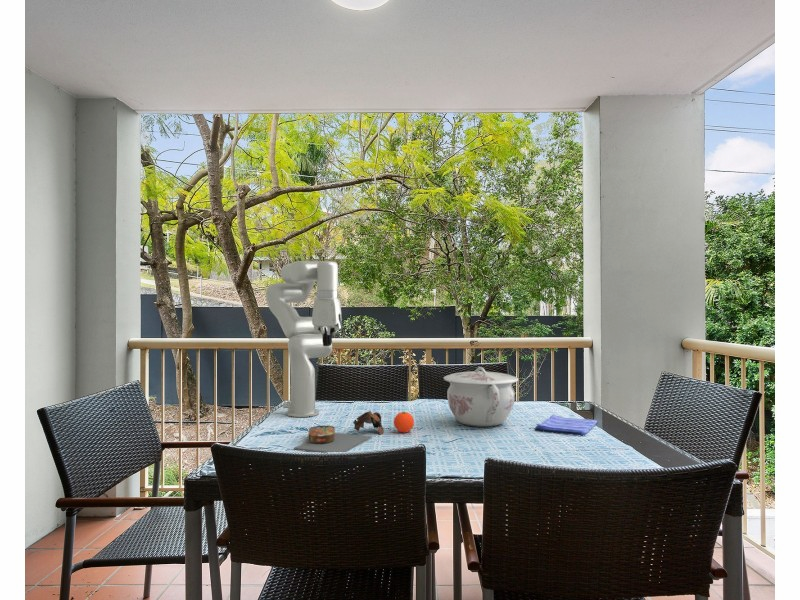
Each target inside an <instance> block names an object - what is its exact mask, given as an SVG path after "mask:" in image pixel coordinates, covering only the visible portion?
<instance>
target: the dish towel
mask: <svg viewBox="0 0 800 600" xmlns="http://www.w3.org/2000/svg"><path fill="white" fill-rule="evenodd" d="M597 423H598V420H597V419H586V418H584V419H583V418H573V417H565V416H560V415H556V414H552V415H550V417H548V418H547V419H545V420H544V421H542V422H541V423H537V424H536V427H535V428H534V431H537V432H543V431H544V432H543V433H552V432H553V433H554V434H560V433H563V434H562V435H568V434H573V435H572V436H577V435H582V436H581V437H584V436H585V435H587V434H588V433H589V432H590V431H591V430H592V429H593V428H594V427H595V426H596V425H597ZM583 435H584V436H583Z"/></svg>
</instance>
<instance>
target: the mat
mask: <svg viewBox="0 0 800 600" xmlns="http://www.w3.org/2000/svg"><path fill="white" fill-rule="evenodd" d="M372 438H373V436H370V435H362V434H351V433H342V432H335V433H334V441H332V442H330V443H311V442H309V440H308V441H306V442H304V443H302V444H300V445H297V446H295V447H293V450H294V451H303V450H305V452H312V453H320V452H345V453H347V452H348V451H350V450H352V449H354V448H356V447H357V446H359V445H361V444H363V443H365V442H368V441H369V440H371V439H372Z"/></svg>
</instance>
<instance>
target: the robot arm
mask: <svg viewBox="0 0 800 600" xmlns="http://www.w3.org/2000/svg"><path fill="white" fill-rule="evenodd" d="M338 265H339V264H338V262H337V261H333V260H331V261H330V260H329V261H328V260H321V261H316V260H298V261H293V262H290V263H286V264H284V265H283V267H282V268H281V269H280V272H279V274H280V275H279V276H280V278H281V280H282V281H283V282H275V283H272V284H270V285H269V286H268V287H267V288H266V292H265V298H266V304H267V306H268V309H269V310H270V312H271V313H272V314H273V315H274V317H276V319H277V321H278V323H279V325H280V327H281V329H282V332H283V333H284V335H285V337H286V338H287V339H288V342H287V349H288V354H289V355H288V356H289V362H290V363H289V364H290V366H289V367H290V402H284V403H283V405H282V407H283V409H288V410H287V411H286V415H287V416H288V417H291V416H292V418H309V416H310V417H315V416H317V415H319V414H320V410H318V409H317V408H316V369H315V366H314V365H313V363H312V362H311V361H310V359H315V358H316V359H317V358H326V357H328V356H330V354H332V351H333V334H334V333H335V332H337V331H339V330H341V329H342V327H341V326H342V307H341V301H340V299H339V297H338V295H339V294H338V293H339V266H338ZM315 283H316V291H314V296H316V298H315V299H314V302H313V307H312V313H311V314H312V316H300V315H299V313H298V311H297V309H296V308H294V306H292V305H291V304H292V303H294V304H295V303H300V304H301V303H304V302H306V301H307V300H308V298H309V296H310V294H311V291H312V289H313V287H314V286H315Z"/></svg>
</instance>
